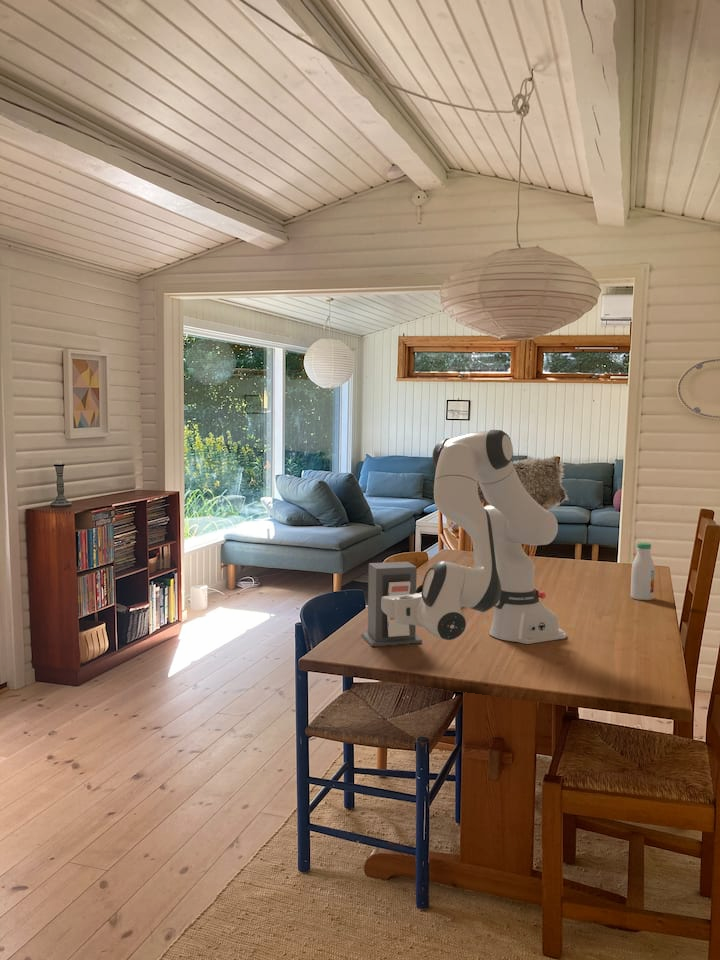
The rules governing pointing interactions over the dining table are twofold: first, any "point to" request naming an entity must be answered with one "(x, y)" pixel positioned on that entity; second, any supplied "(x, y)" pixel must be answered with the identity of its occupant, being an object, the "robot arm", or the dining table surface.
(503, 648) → the dining table surface
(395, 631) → the lower rocker
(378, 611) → the grey framed tower stand
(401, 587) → the upper rocker
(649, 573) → the milk bottle
